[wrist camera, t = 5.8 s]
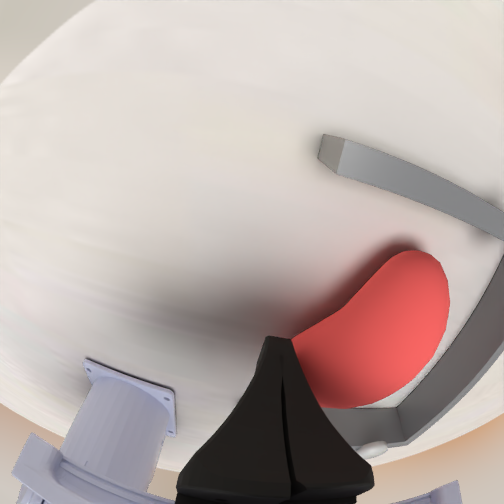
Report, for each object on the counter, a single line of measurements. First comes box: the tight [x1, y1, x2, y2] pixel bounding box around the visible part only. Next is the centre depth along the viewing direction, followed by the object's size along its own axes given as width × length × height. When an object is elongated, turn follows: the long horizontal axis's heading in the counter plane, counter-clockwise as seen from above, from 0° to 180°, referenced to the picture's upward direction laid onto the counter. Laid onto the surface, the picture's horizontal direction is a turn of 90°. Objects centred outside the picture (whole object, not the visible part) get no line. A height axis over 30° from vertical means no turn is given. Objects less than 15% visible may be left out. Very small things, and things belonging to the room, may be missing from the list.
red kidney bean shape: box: [291, 250, 450, 409], centre depth 11 cm, size 5×9×6 cm, turn 129°
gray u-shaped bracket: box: [318, 134, 504, 459], centre depth 12 cm, size 19×14×4 cm
